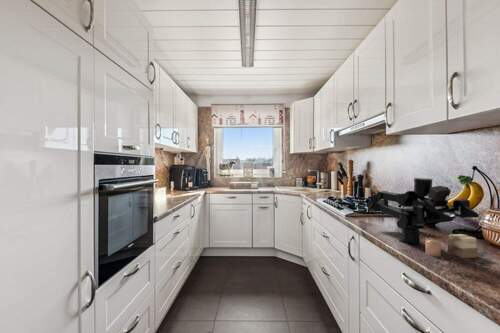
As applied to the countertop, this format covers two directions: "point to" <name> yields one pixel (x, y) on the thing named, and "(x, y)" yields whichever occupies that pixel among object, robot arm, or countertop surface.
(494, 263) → the countertop surface
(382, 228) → the countertop surface
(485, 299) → the countertop surface
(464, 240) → the maple block
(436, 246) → the tan rounded piece
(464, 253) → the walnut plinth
